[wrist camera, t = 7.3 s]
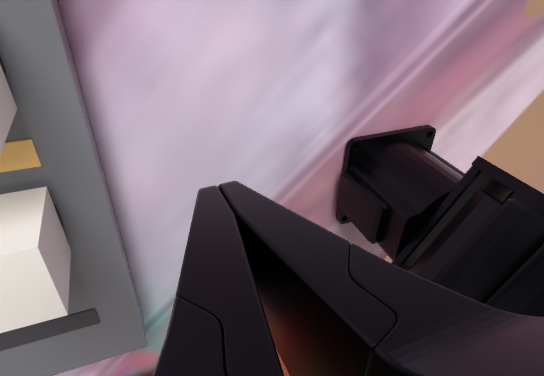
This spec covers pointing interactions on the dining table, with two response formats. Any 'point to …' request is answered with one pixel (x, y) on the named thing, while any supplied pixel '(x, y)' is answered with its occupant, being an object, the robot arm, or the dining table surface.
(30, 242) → the tab middle
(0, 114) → the tab
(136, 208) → the dining table surface
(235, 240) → the robot arm
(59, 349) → the switch panel
